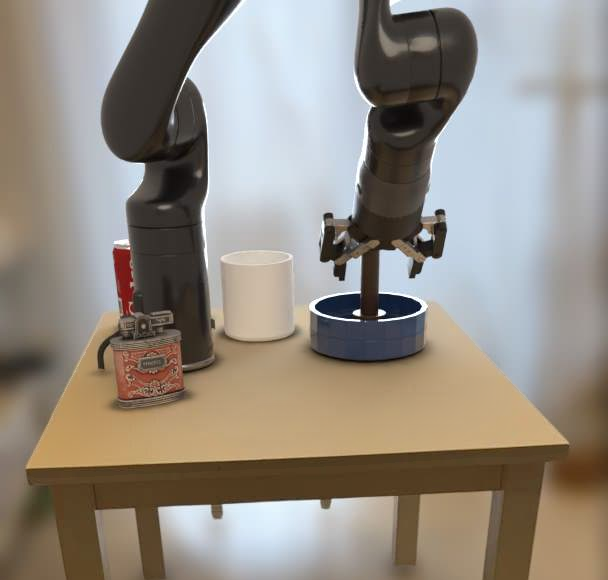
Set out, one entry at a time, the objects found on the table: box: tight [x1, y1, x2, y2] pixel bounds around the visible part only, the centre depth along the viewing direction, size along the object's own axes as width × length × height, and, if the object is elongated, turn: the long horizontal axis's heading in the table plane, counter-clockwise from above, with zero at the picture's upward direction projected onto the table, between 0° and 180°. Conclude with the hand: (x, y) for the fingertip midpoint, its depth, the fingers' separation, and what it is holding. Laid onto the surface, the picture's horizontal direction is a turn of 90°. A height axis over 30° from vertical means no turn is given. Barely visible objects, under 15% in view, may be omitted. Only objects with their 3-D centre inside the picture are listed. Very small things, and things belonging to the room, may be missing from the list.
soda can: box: [111, 238, 134, 319], centre depth 127 cm, size 5×5×12 cm
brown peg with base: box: [352, 250, 386, 320], centre depth 116 cm, size 4×4×14 cm
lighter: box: [109, 311, 187, 409], centre depth 100 cm, size 8×3×10 cm, turn 117°
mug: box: [219, 249, 296, 342], centre depth 125 cm, size 13×10×10 cm
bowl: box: [308, 291, 429, 362], centre depth 118 cm, size 15×15×6 cm
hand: (375, 273), depth 108 cm, fingers open, 8 cm apart
